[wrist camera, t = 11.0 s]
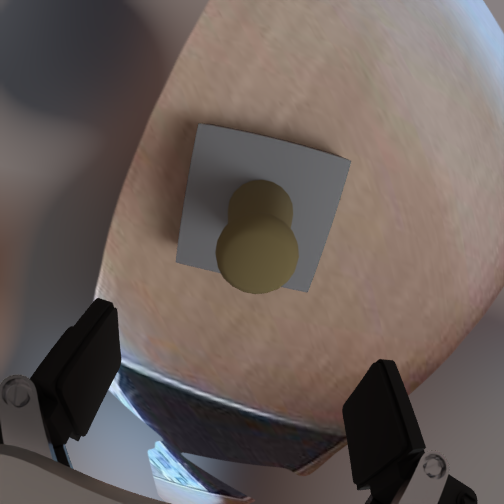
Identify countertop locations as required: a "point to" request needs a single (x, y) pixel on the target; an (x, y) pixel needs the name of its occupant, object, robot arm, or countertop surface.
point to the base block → (249, 169)
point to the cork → (258, 239)
